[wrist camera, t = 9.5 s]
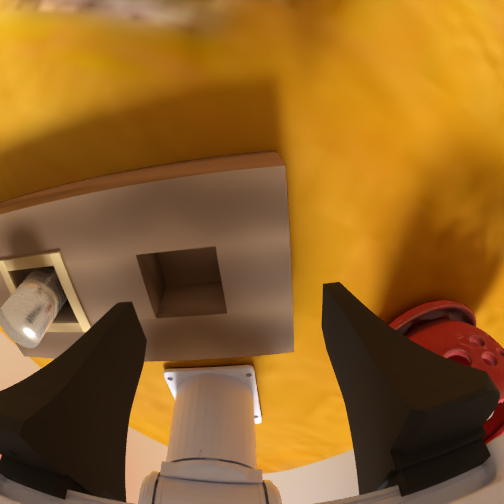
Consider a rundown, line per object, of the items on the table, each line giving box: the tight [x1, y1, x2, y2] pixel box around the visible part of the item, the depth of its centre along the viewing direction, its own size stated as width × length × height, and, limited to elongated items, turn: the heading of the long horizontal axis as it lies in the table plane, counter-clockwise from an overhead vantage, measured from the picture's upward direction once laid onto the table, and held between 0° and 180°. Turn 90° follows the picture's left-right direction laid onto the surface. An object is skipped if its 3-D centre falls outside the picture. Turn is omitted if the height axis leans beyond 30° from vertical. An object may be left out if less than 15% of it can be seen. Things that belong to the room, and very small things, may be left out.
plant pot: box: [389, 300, 504, 444], centre depth 21 cm, size 13×13×12 cm
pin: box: [0, 266, 68, 348], centre depth 18 cm, size 3×3×7 cm
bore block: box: [0, 151, 294, 361], centre depth 19 cm, size 12×22×4 cm, turn 96°
